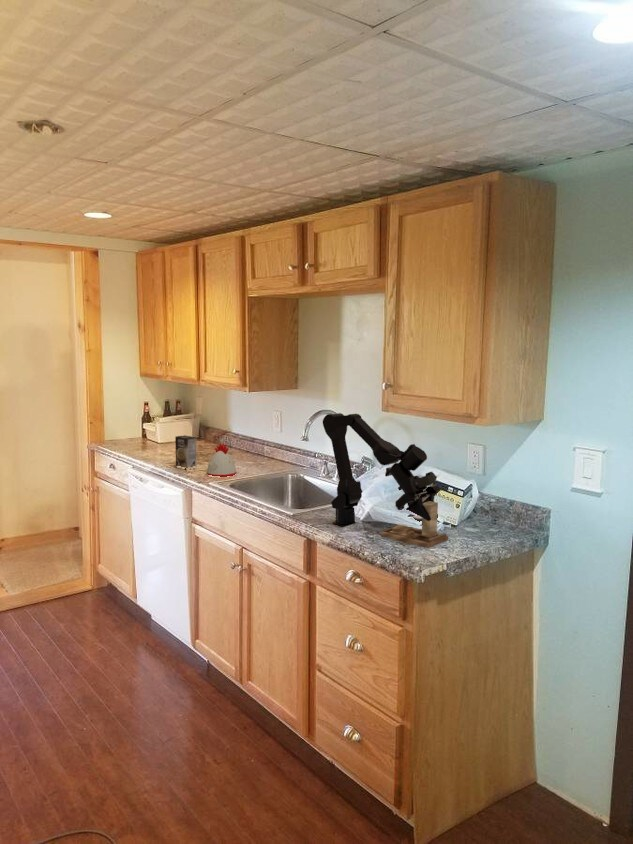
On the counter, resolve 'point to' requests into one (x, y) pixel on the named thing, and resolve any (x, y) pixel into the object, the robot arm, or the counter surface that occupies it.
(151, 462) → the counter surface
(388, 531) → the rack
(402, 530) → the oak offcut upper
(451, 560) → the counter surface
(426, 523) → the tan wooden block
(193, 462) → the coffee box
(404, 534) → the oak offcut lower
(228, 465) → the grey pompom beanie
